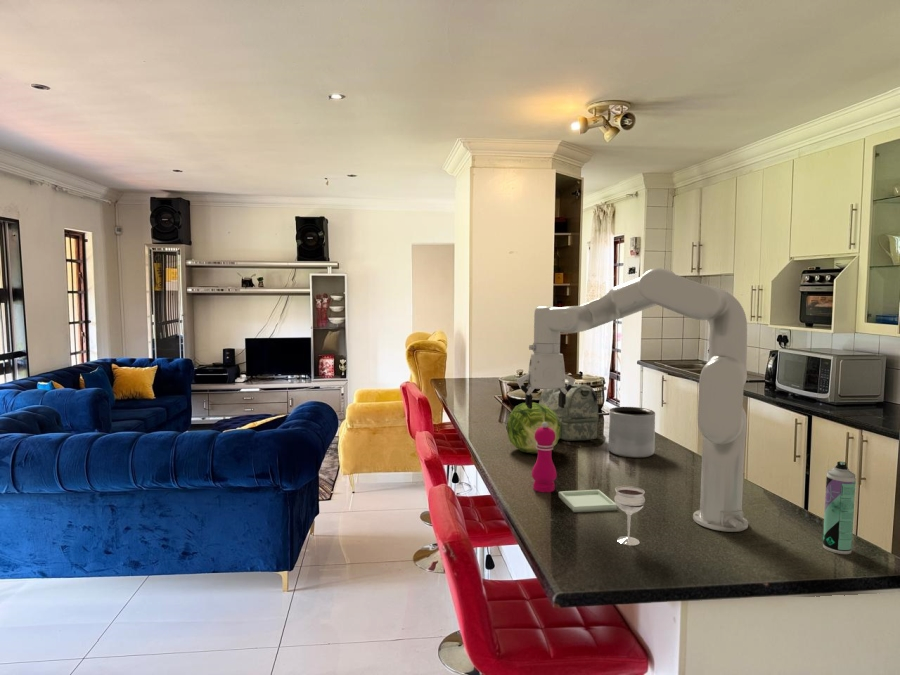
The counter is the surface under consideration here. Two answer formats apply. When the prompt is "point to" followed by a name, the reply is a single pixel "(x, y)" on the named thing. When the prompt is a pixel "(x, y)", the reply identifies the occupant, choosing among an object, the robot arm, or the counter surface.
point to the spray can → (839, 509)
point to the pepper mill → (544, 460)
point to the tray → (587, 500)
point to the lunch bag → (574, 411)
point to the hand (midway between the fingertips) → (545, 407)
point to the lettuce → (530, 425)
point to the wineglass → (629, 507)
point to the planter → (631, 432)
